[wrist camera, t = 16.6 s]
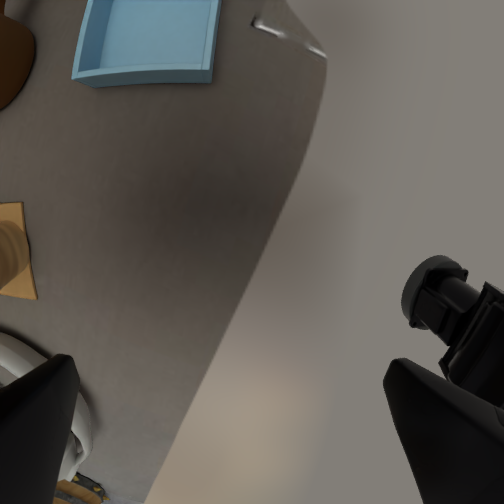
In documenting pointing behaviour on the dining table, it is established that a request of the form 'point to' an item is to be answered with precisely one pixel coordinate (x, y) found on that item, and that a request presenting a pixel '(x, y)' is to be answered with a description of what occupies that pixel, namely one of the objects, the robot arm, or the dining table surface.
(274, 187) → the dining table surface
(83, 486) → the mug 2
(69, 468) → the headphones
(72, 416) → the robot arm
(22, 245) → the pepper mill
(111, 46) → the tub
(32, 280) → the mat
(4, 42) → the mug
